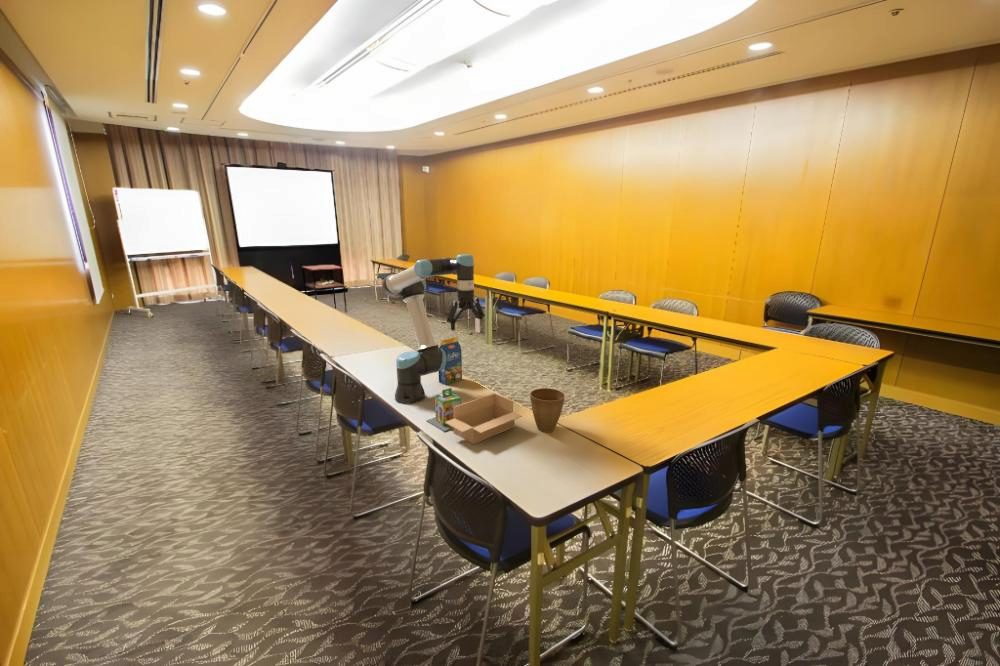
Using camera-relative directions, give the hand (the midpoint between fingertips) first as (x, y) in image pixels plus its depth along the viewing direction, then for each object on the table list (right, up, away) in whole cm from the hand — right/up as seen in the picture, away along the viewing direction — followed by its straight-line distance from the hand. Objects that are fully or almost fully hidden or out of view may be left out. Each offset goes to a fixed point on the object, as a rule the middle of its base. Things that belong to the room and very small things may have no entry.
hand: (466, 334), depth 202 cm
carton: (+9, -42, -17) cm, 46 cm away
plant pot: (+36, -41, -12) cm, 56 cm away
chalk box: (-8, -39, -6) cm, 40 cm away
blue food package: (-12, -27, +45) cm, 54 cm away
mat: (-8, -39, -6) cm, 40 cm away
